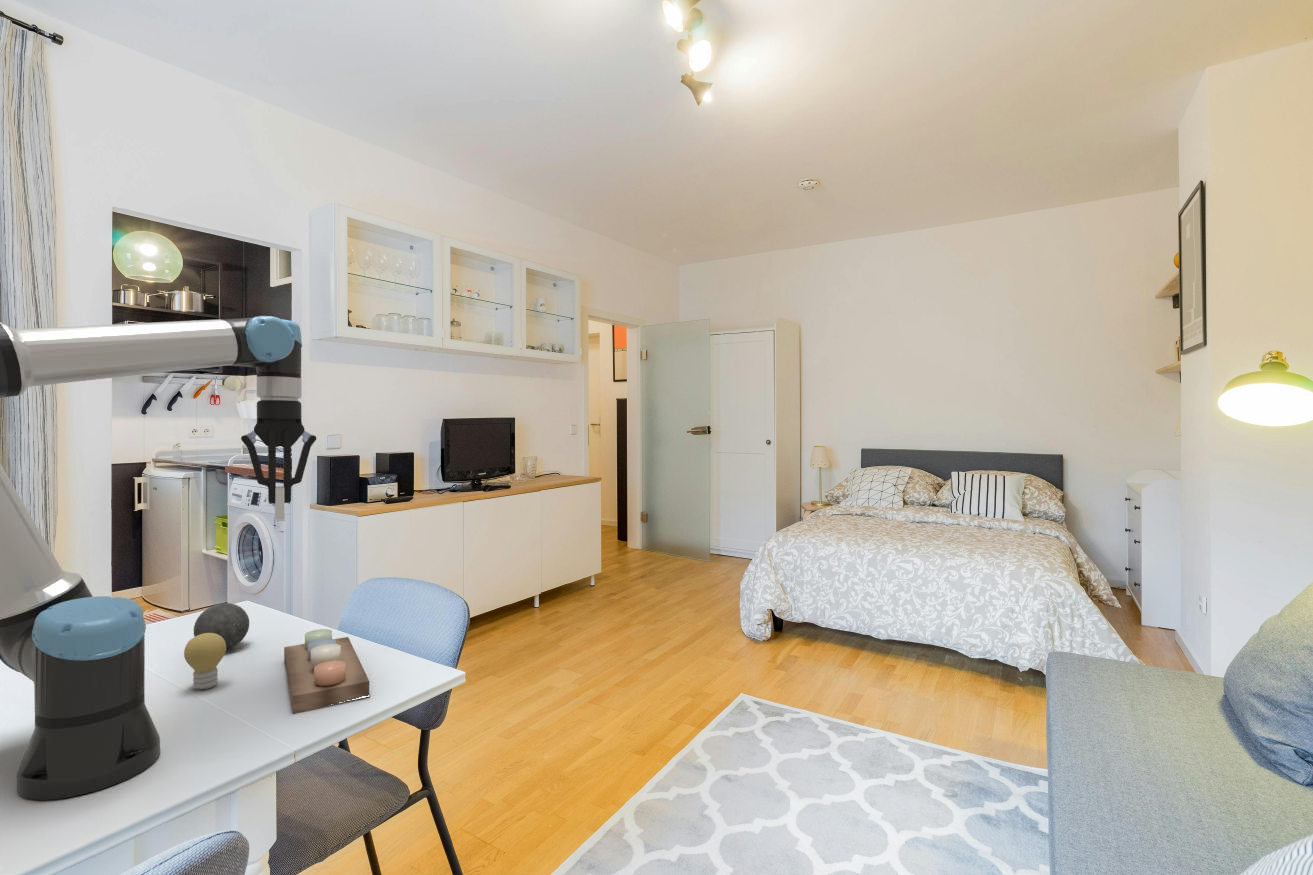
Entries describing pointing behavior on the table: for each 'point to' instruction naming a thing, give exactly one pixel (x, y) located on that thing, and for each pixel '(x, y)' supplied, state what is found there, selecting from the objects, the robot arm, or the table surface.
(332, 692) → the button board
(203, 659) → the light bulb
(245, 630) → the decorative ball
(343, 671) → the terracotta button
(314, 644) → the slate button
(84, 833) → the table surface
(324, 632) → the sage button
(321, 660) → the cream button
